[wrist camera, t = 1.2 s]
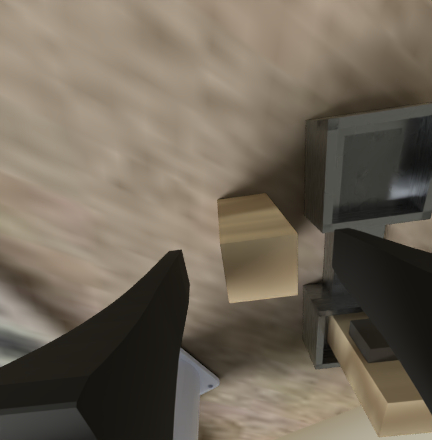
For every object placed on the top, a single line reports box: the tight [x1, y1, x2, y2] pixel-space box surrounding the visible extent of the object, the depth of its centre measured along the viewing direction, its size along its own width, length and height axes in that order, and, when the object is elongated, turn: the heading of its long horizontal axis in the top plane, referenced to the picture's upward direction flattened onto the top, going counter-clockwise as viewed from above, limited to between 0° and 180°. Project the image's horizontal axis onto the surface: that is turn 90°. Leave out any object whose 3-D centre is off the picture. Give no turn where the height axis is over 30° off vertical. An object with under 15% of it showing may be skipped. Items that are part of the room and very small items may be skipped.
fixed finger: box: [327, 312, 432, 437], centre depth 14 cm, size 4×3×6 cm
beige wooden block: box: [217, 193, 298, 303], centre depth 13 cm, size 4×3×6 cm
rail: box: [303, 102, 432, 369], centre depth 15 cm, size 18×6×3 cm, turn 8°
